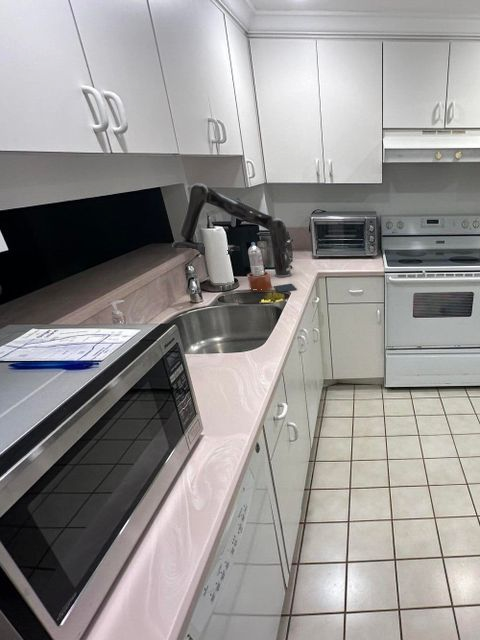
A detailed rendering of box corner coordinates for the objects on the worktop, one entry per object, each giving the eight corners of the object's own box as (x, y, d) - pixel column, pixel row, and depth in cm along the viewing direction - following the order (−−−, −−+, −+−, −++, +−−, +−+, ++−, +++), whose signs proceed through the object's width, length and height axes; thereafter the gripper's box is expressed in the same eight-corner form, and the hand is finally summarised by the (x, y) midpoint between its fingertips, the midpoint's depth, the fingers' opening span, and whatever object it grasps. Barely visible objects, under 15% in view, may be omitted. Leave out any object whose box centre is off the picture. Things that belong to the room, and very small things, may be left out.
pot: (248, 287, 216) (246, 273, 212) (268, 284, 220) (266, 270, 217) (252, 292, 207) (250, 278, 203) (273, 289, 212) (271, 275, 208)
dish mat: (273, 287, 216) (273, 286, 215) (291, 284, 220) (291, 283, 219) (278, 292, 207) (278, 291, 207) (296, 289, 211) (296, 288, 211)
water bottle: (258, 291, 210) (251, 244, 197) (251, 288, 213) (243, 242, 201) (269, 288, 214) (262, 242, 202) (262, 285, 218) (255, 240, 206)
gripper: (199, 244, 201) (226, 246, 198) (215, 239, 213) (241, 240, 210) (202, 259, 205) (229, 260, 202) (217, 253, 217) (243, 254, 214)
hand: (235, 250), depth 206 cm, fingers open, 8 cm apart
